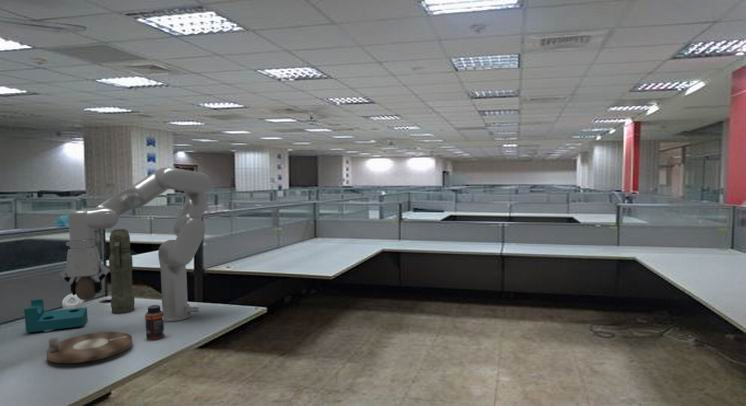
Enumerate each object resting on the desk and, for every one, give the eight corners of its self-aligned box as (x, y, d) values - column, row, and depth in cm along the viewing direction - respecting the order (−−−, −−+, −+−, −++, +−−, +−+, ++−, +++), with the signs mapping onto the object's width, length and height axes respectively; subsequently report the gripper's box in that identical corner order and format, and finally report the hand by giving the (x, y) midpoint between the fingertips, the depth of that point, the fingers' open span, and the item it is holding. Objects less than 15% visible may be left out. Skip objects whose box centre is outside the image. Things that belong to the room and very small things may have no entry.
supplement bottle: (168, 335, 171) (167, 304, 171) (155, 341, 166) (154, 309, 165) (155, 334, 173) (153, 303, 172) (142, 339, 168) (140, 307, 167)
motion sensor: (60, 315, 199) (60, 296, 199) (64, 310, 206) (63, 292, 205) (83, 312, 202) (82, 294, 202) (86, 308, 209) (85, 290, 209)
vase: (102, 295, 175) (100, 272, 174) (89, 301, 168) (87, 276, 167) (84, 295, 176) (83, 272, 175) (71, 301, 169) (69, 276, 168)
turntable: (124, 331, 172) (123, 316, 172) (139, 350, 153) (139, 333, 153) (43, 347, 157) (42, 330, 157) (50, 369, 138) (49, 351, 138)
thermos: (109, 316, 196) (105, 231, 194) (112, 309, 207) (109, 229, 205) (133, 313, 200) (130, 230, 197) (135, 306, 210) (132, 227, 208)
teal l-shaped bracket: (26, 336, 175) (24, 309, 173) (34, 325, 184) (31, 299, 183) (83, 329, 182) (81, 303, 180) (87, 319, 191) (85, 294, 190)
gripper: (51, 247, 165) (55, 298, 166) (105, 244, 168) (109, 293, 170) (60, 244, 172) (64, 292, 174) (112, 241, 176) (116, 288, 177)
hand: (86, 292), depth 172 cm, fingers closed on vase, 6 cm apart
